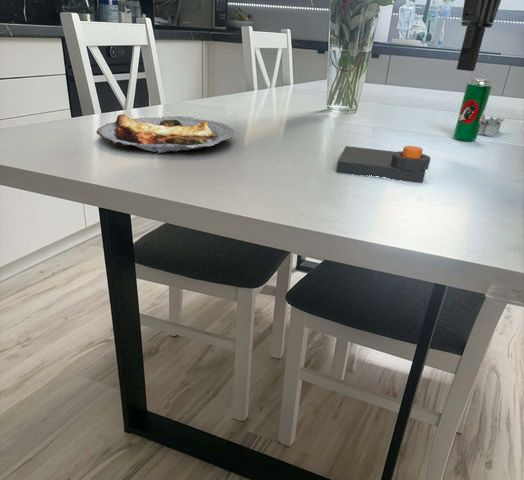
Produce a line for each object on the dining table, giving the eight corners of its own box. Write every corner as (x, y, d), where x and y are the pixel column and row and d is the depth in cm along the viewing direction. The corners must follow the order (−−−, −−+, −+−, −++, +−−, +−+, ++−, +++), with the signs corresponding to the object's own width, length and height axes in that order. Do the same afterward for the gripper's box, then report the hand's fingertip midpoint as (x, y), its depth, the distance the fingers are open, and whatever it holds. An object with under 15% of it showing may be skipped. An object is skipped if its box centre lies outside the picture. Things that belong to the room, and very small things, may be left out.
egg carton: (471, 126, 124) (476, 109, 121) (502, 131, 120) (508, 113, 118) (461, 132, 116) (466, 113, 114) (493, 137, 113) (499, 118, 111)
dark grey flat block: (423, 166, 87) (428, 145, 85) (425, 184, 77) (430, 162, 75) (344, 156, 89) (347, 136, 87) (335, 173, 79) (338, 151, 77)
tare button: (420, 157, 79) (422, 147, 78) (420, 161, 76) (423, 151, 76) (401, 154, 79) (403, 144, 78) (401, 159, 77) (403, 148, 76)
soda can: (479, 142, 107) (497, 81, 100) (457, 141, 107) (473, 80, 100) (471, 137, 111) (488, 78, 104) (449, 136, 111) (465, 77, 104)
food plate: (83, 153, 81) (80, 131, 79) (114, 126, 100) (112, 107, 98) (232, 161, 82) (233, 139, 80) (234, 132, 101) (235, 114, 99)
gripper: (517, -118, 68) (468, 73, 82) (550, -101, 76) (500, 71, 89) (468, -112, 72) (428, 68, 86) (504, -97, 80) (462, 67, 94)
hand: (465, 69), depth 88 cm, fingers closed
